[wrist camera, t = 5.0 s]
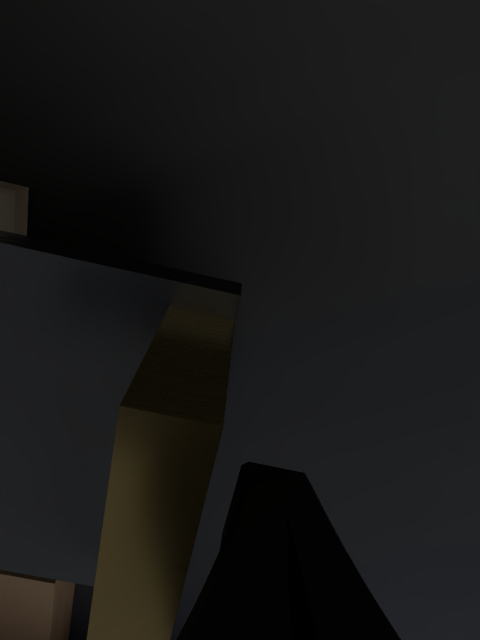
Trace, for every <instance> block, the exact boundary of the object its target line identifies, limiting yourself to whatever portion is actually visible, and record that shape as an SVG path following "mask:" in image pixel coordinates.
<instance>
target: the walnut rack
mask: <svg viewBox="0 0 480 640" xmlns="http://www.w3.org/2000/svg"><path fill="white" fill-rule="evenodd" d="M74 589H75V583H71V582H65V581H60V580H54V579H49V578H43V577H38V576H32V575H27V574H21V573H16V572H10V571H5V570H0V640H69V631H70V623H71V614H72V606H73V597H74Z"/></svg>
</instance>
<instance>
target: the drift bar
mask: <svg viewBox="0 0 480 640" xmlns="http://www.w3.org/2000/svg"><path fill="white" fill-rule="evenodd" d="M241 286H242V283H237V282H232V281H228V280H223V279H219V278H214V277H210V276H205V275H201V274H196V273H192V272H187V271H183V270H178V269H174V268H169V267H165V266H160V265H156V264H151V263H147V262H142V261H138V260H133V259H129V258H124V257H120V256H115V255H111V254H106V253H102V252H97V251H92V250H88V249H83V248H79V247H74V246H70V245H65V244H61V243H56V242H52V241H47V240H43V239H38V238H34V237H29V236H25V235H20V234H16V233H11V232H7V231H2V230H0V570H5V571H10V572H16V573H21V574H27V575H32V576H38V577H43V578H49V579H54V580H60V581H65V582H71V583H76V584H82V585H88V586H93V587H94V591H93V598H92V605H91V612H90V619H89V626H88V633H87V640H170V638H171V634H172V630H173V626H174V622H175V618H176V614H177V610H178V606H179V602H180V598H181V594H182V590H183V586H184V582H185V578H186V574H187V570H188V566H189V562H190V558H191V554H192V550H193V546H194V542H195V538H196V534H197V530H198V526H199V522H200V518H201V514H202V510H203V506H204V502H205V498H206V494H207V490H208V486H209V482H210V478H211V474H212V470H213V466H214V462H215V458H216V454H217V450H218V446H219V442H220V438H221V434H222V430H223V424H224V415H225V406H226V396H227V387H228V378H229V369H230V359H231V350H232V341H233V331H234V322H235V317H236V313H237V309H238V305H239V300H240V296H241Z"/></svg>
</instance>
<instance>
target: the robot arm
mask: <svg viewBox="0 0 480 640" xmlns="http://www.w3.org/2000/svg"><path fill="white" fill-rule="evenodd" d="M177 640H401V639H400V638H399V636H398V635H397V633H396V631H395V630H394V628H393V627H392V625H391V624H390V622H389V621H388V619H387V617H386V616H385V614H384V613H383V611H382V610H381V608H380V607H379V605H378V603H377V602H376V600H375V599H374V597H373V595H372V594H371V592H370V590H369V589H368V587H367V585H366V584H365V582H364V580H363V579H362V577H361V575H360V574H359V572H358V570H357V568H356V567H355V565H354V563H353V562H352V560H351V558H350V556H349V555H348V553H347V551H346V549H345V548H344V546H343V544H342V542H341V540H340V539H339V537H338V535H337V533H336V531H335V529H334V528H333V526H332V524H331V522H330V520H329V518H328V516H327V514H326V513H325V511H324V509H323V507H322V505H321V503H320V501H319V499H318V497H317V495H316V493H315V491H314V489H313V487H312V485H311V483H310V481H309V480H308V478H307V476H306V475H305V473H302V472H297V471H292V470H287V469H282V468H277V467H272V466H267V465H262V464H257V463H252V462H247V463H245V464H243V465H242V466H241V469H240V473H239V476H238V480H237V483H236V487H235V491H234V494H233V498H232V501H231V505H230V508H229V512H228V515H227V519H226V522H225V526H224V529H223V533H222V540H221V546H220V551H219V554H218V556H217V558H216V560H215V562H214V565H213V567H212V569H211V571H210V574H209V576H208V578H207V580H206V582H205V585H204V587H203V589H202V591H201V593H200V595H199V597H198V599H197V601H196V603H195V605H194V607H193V609H192V611H191V613H190V615H189V617H188V619H187V621H186V623H185V625H184V627H183V629H182V630H181V632H180V634H179V636H178V638H177Z"/></svg>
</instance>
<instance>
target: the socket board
mask: <svg viewBox="0 0 480 640" xmlns="http://www.w3.org/2000/svg"><path fill="white" fill-rule="evenodd" d="M28 195H29V187H25V186H20V185H16V184H12V183H7V182H3V181H0V230H2V231H7V232H11V233H16V234H20V235H25V236H27V219H28Z"/></svg>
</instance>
